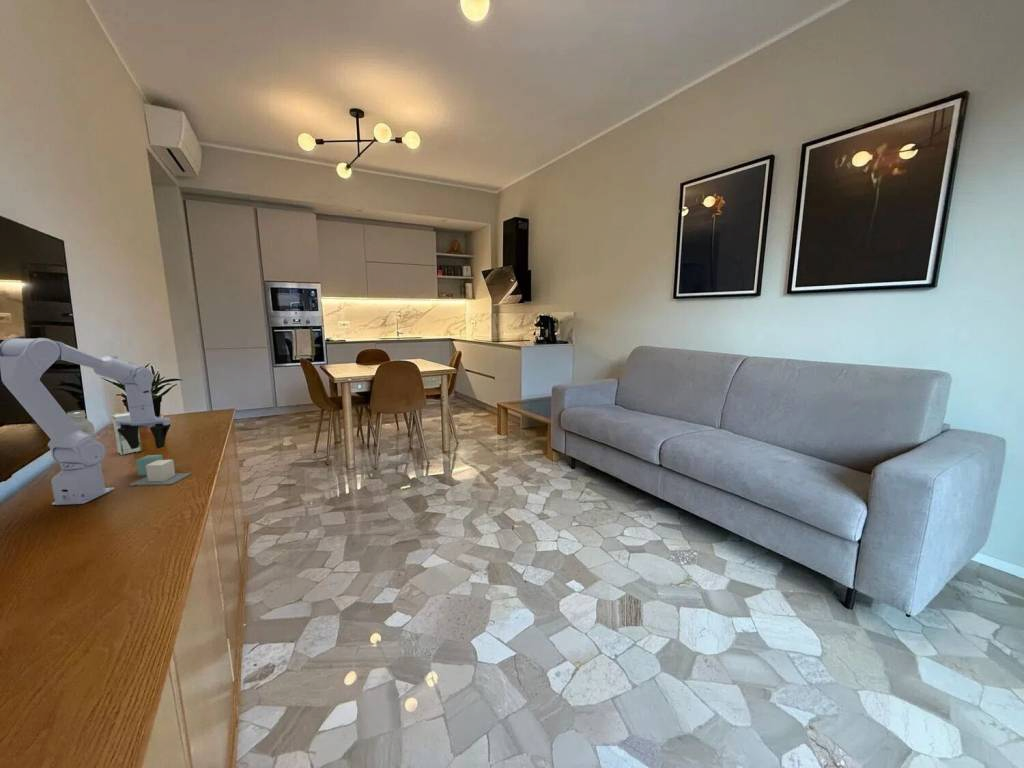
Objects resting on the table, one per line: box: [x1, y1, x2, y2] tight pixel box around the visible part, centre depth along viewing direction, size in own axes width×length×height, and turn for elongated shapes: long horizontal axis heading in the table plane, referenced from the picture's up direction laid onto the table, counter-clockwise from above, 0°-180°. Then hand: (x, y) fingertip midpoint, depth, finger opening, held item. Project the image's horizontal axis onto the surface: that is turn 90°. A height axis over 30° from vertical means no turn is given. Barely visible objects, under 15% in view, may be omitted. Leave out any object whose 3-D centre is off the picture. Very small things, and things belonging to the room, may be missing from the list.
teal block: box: [135, 454, 164, 476], centre depth 130 cm, size 4×4×5 cm
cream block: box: [146, 459, 176, 482], centre depth 124 cm, size 4×4×5 cm
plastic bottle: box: [66, 409, 102, 464], centre depth 128 cm, size 6×7×20 cm
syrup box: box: [111, 411, 143, 456], centre depth 149 cm, size 6×6×14 cm
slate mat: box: [128, 472, 192, 487], centre depth 124 cm, size 8×12×1 cm, turn 94°
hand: (147, 447), depth 129 cm, fingers open, 7 cm apart
